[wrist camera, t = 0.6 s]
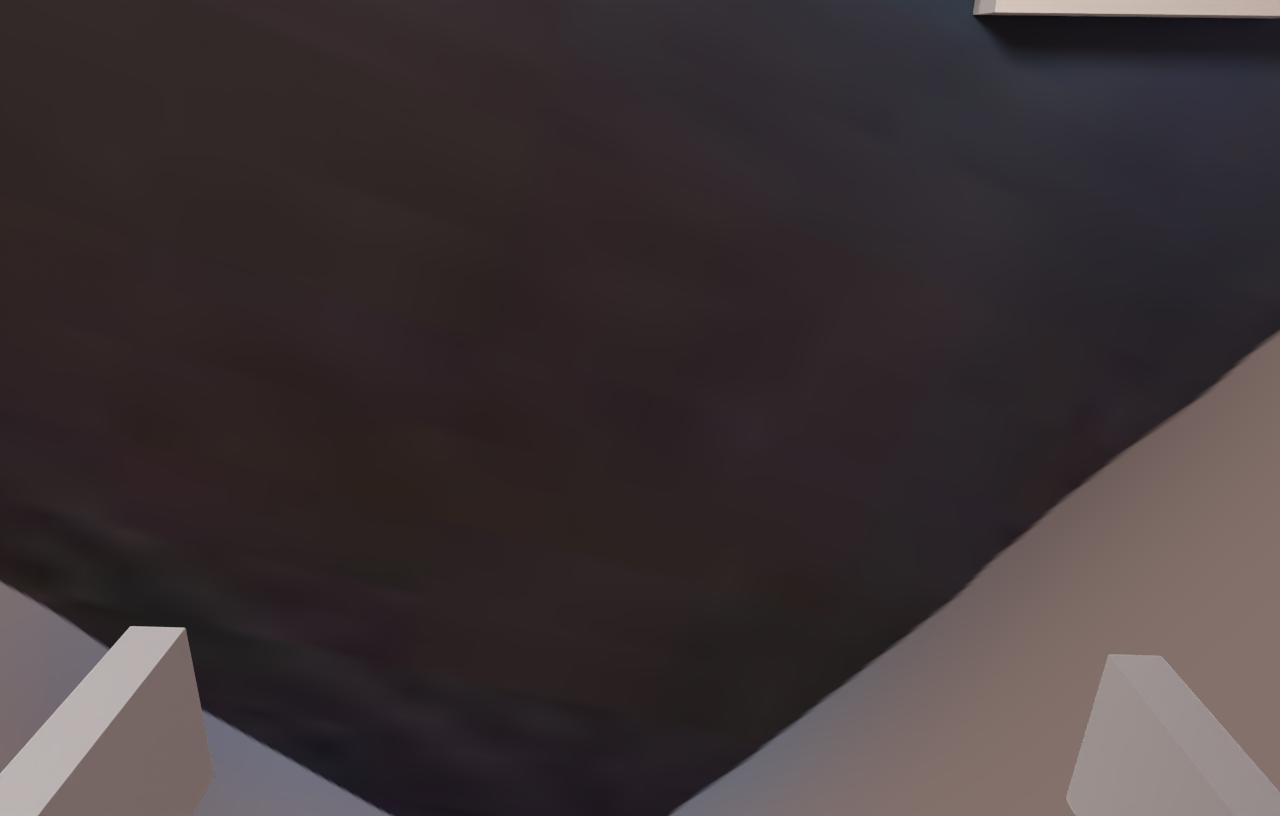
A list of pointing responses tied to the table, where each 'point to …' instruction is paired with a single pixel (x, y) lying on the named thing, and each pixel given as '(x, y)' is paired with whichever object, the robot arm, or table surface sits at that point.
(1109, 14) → the tray
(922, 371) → the table surface
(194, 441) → the table surface
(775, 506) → the table surface
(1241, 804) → the robot arm
